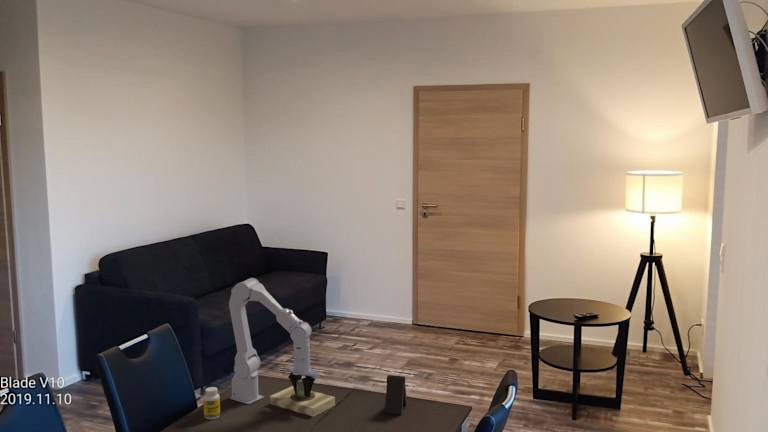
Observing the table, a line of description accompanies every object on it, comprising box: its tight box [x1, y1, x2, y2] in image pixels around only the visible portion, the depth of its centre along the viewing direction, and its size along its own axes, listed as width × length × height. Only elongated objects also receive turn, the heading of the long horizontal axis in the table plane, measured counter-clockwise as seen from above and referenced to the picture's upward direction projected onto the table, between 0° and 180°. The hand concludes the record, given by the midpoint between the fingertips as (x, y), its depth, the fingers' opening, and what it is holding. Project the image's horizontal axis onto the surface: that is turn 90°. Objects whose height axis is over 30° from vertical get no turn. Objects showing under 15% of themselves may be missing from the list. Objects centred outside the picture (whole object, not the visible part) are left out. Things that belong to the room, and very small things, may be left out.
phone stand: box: [384, 374, 408, 416], centre depth 234 cm, size 9×6×12 cm, turn 165°
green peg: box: [297, 379, 308, 399], centre depth 238 cm, size 4×4×8 cm
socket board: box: [269, 385, 336, 418], centre depth 239 cm, size 20×12×3 cm, turn 56°
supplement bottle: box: [203, 386, 221, 420], centre depth 228 cm, size 5×5×10 cm
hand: (302, 394), depth 238 cm, fingers closed on green peg, 4 cm apart
